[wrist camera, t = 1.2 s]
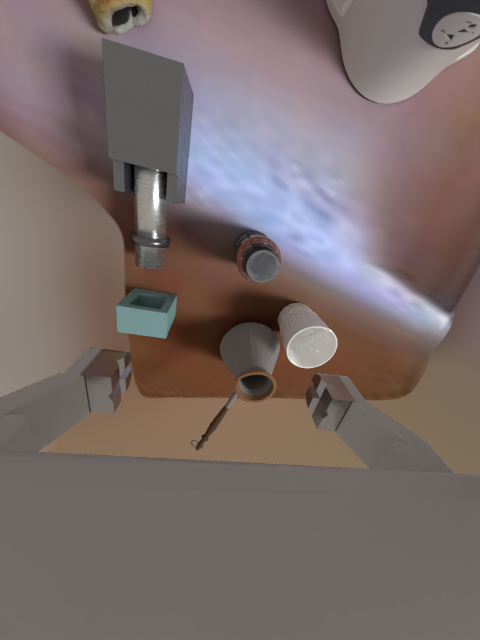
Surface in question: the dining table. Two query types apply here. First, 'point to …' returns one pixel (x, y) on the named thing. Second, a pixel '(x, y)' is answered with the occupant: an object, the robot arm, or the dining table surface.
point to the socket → (146, 313)
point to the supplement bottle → (257, 257)
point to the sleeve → (147, 116)
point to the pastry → (120, 14)
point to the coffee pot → (247, 366)
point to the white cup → (305, 336)
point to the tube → (150, 218)
